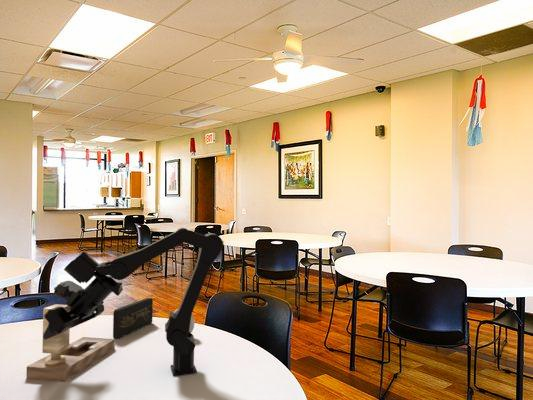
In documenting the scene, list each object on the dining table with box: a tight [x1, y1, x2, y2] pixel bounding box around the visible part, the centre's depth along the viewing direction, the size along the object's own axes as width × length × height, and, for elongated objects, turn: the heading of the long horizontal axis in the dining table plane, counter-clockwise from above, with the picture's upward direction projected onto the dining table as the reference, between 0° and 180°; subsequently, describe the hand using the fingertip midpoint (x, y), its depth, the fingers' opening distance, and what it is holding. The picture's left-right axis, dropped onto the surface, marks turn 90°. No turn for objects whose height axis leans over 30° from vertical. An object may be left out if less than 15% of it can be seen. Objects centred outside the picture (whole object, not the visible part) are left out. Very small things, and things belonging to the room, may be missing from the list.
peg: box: [41, 303, 71, 366], centre depth 108 cm, size 5×5×15 cm
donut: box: [173, 308, 196, 334], centre depth 141 cm, size 10×3×10 cm, turn 58°
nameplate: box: [112, 297, 154, 340], centre depth 147 cm, size 21×2×10 cm, turn 163°
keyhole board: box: [25, 336, 116, 383], centre depth 116 cm, size 24×11×3 cm, turn 171°
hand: (56, 332), depth 108 cm, fingers open, 9 cm apart
